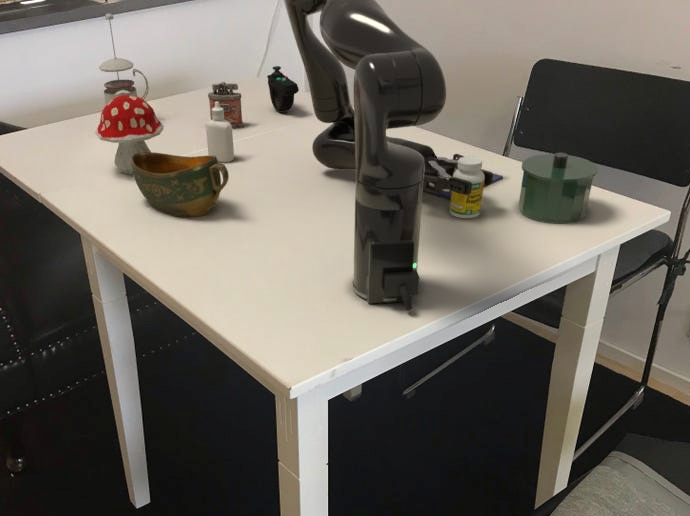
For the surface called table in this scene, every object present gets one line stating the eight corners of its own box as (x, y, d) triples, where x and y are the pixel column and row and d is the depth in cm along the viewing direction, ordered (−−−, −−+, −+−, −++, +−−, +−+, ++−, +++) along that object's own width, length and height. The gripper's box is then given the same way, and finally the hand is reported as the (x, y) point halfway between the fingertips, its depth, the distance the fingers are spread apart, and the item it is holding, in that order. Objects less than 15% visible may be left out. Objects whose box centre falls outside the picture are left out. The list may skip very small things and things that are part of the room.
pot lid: (608, 183, 126) (612, 165, 124) (534, 187, 126) (537, 169, 124) (580, 158, 136) (583, 141, 134) (511, 162, 136) (514, 144, 134)
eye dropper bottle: (224, 153, 166) (220, 97, 160) (236, 161, 162) (232, 103, 155) (206, 157, 165) (201, 100, 158) (217, 165, 161) (213, 107, 154)
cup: (169, 234, 133) (162, 178, 127) (131, 197, 148) (123, 145, 142) (236, 218, 138) (232, 163, 132) (193, 183, 152) (188, 132, 147)
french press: (102, 121, 190) (84, 12, 176) (148, 115, 192) (134, 7, 178) (107, 132, 182) (89, 19, 168) (155, 126, 185) (141, 14, 171)
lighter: (208, 127, 182) (204, 84, 177) (213, 123, 185) (209, 80, 179) (240, 129, 180) (237, 85, 174) (245, 124, 183) (242, 81, 177)
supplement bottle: (464, 204, 138) (470, 152, 133) (487, 213, 135) (493, 160, 129) (442, 212, 136) (447, 159, 131) (464, 221, 132) (470, 168, 127)
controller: (282, 104, 196) (280, 63, 190) (301, 117, 186) (300, 74, 180) (266, 106, 194) (264, 65, 189) (285, 119, 185) (283, 76, 179)
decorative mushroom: (123, 186, 153) (111, 110, 144) (89, 169, 162) (77, 96, 153) (181, 168, 160) (173, 95, 151) (146, 153, 169) (136, 82, 160)
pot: (595, 221, 130) (604, 179, 126) (530, 225, 130) (536, 182, 126) (571, 196, 139) (579, 156, 135) (510, 199, 139) (516, 159, 135)
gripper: (378, 151, 135) (457, 174, 124) (429, 131, 143) (508, 151, 132) (376, 191, 139) (453, 217, 128) (426, 170, 147) (502, 193, 136)
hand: (480, 184), depth 130 cm, fingers closed on supplement bottle, 5 cm apart
